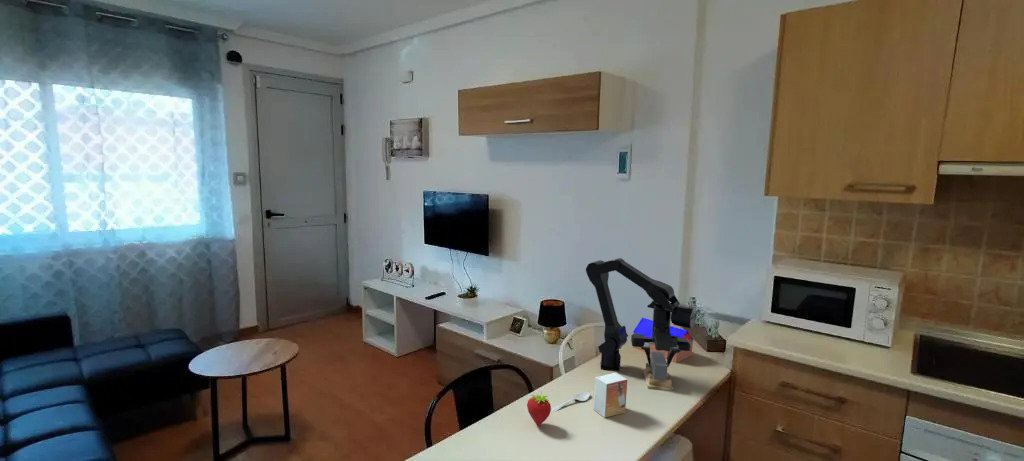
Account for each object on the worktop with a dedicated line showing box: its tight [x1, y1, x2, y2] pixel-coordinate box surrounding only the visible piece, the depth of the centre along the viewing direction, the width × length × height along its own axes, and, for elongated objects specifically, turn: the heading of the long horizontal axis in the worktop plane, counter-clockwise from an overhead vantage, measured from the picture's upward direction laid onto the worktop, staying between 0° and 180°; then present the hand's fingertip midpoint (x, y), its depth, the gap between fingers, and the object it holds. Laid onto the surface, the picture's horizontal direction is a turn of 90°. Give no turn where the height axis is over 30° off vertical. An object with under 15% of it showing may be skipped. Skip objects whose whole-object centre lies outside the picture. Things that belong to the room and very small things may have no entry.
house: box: [632, 317, 694, 364], centre depth 191 cm, size 12×20×12 cm, turn 40°
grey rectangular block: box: [650, 351, 669, 380], centre depth 165 cm, size 4×12×5 cm, turn 170°
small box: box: [593, 372, 628, 419], centre depth 143 cm, size 8×6×10 cm
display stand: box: [643, 362, 674, 392], centre depth 165 cm, size 8×14×4 cm, turn 170°
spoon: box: [550, 391, 591, 414], centre depth 147 cm, size 4×21×2 cm, turn 130°
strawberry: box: [526, 391, 552, 426], centre depth 135 cm, size 6×8×10 cm
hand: (658, 366), depth 165 cm, fingers open, 6 cm apart
